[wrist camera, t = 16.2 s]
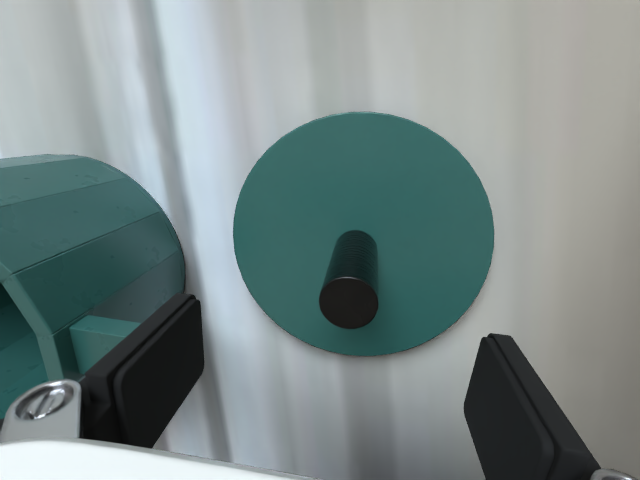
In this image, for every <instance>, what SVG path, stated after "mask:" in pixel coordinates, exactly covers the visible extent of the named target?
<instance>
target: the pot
mask: <svg viewBox="0 0 640 480" xmlns="http://www.w3.org/2000/svg"><path fill="white" fill-rule="evenodd" d="M184 282H185V265H184V259H183V253H182V250H181V246H180V243H179V240H178V238H177V235H176V233H175V231H174V228H173V227H172V225H171V223H170V221H169V219H168V218H167V216H166V215H165V213H164V212H163V210H162V209H161V207H160V206H159V205H158V204H157V202H156V201H155V200H154V199H153V198H152V197H151V195H150V194H149V193H148V192H147V191H146V190H144V189H143V188H142V187H141V186H140V185H139V184H138V183H137V182H135V181H134V180H133V179H131V178H130V177H129V176H127V175H126V174H124V173H123V172H121V171H119V170H118V169H116V168H114V167H112V166H110V165H108V164H105V163H103V162H101V161H98V160H95V159H91V158H88V157H83V156H77V155H51V154H44V155H34V156H24V157H14V158H4V159H0V419H3V418H5V416H6V412H7V410H8V408H9V407H10V405H11V404H12V403H13V402H14V401H15V400H16V399H17V398H18V397H19V396H20V395H22V394H23V393H25V392H26V391H27V390H29V389H31V388H33V387H35V386H37V385H40V384H43V383H46V382H48V381H53V380H58V379H70V380H74V381H76V382H77V383H79V382H80V381H81V380H82V379H83V378H84V377H85V372H86V371H87V370H89V369H90V368H91V367H92V366H93V365H94V364H96V363H97V362H98V361H99V360H100V359H101V358H102V357H104V356H105V355H106V354H107V353H108V352H109V351H110V350H112V349H113V348H114V347H115V346H116V345H117V344H118V343H120V342H121V341H122V340H123V339H124V338H125V337H127V336H128V335H129V334H130V333H131V332H132V331H133V330H135V329H136V328H137V327H138V326H139V325H140V324H141V323H143V322H144V321H145V320H146V319H147V318H148V317H150V316H151V315H152V314H153V313H154V312H155V311H156V310H158V309H159V308H160V307H161V306H162V305H163V304H164V303H166V302H167V301H168V300H169V299H170V298H171V297H172V296H174V295H175V294H176V293H183V290H184Z"/></svg>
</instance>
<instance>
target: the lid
mask: <svg viewBox="0 0 640 480" xmlns="http://www.w3.org/2000/svg"><path fill="white" fill-rule="evenodd" d="M233 239H234V249H235V255H236V259H237V263H238V267H239V269H240V272H241V275H242V278H243V280H244V282H245V284H246V286H247V288H248V290H249V292H250V293H251V295H252V296H253V298H254V299H255V300H256V302H257V303H258V305H259V306H260V307H261V308H262V309H263V311H264V312H265V313H266V314H267V315H268V316H269V317H270V318H271V319H272V320H273V321H274V322H275V323H277V324H278V325H279V326H280V327H282V328H283V329H284V330H286V331H287V332H288V333H290V334H291V335H293V336H295V337H297V338H298V339H300V340H302V341H304V342H306V343H308V344H311V345H313V346H315V347H318V348H321V349H324V350H327V351H330V352H335V353H340V354H345V355H356V356H376V355H385V354H391V353H396V352H400V351H404V350H407V349H410V348H413V347H415V346H418V345H420V344H423V343H425V342H427V341H429V340H431V339H433V338H434V337H436V336H437V335H439V334H440V333H442V332H443V331H445V330H446V329H448V328H449V327H450V326H451V325H452V324H453V323H455V322H456V321H457V320H458V319H459V318H460V317H461V316H462V315H463V314H464V312H465V311H466V310H467V309H468V308H469V307H470V305H471V304H472V302H473V301H474V299H475V298H476V297H477V295H478V293H479V291H480V289H481V287H482V285H483V284H484V282H485V279H486V276H487V273H488V270H489V267H490V265H491V259H492V254H493V248H494V225H493V216H492V211H491V207H490V204H489V200H488V197H487V194H486V192H485V190H484V188H483V185H482V183H481V181H480V179H479V177H478V176H477V174H476V173H475V171H474V170H473V168H472V167H471V165H470V164H469V163H468V161H467V160H466V159H465V158H464V157H463V156H462V155H461V153H460V152H459V151H458V150H457V149H456V148H454V147H453V146H452V145H451V144H450V143H449V142H447V141H446V140H445V139H444V138H443V137H441V136H439V135H438V134H436V133H435V132H433V131H431V130H430V129H428V128H426V127H424V126H422V125H420V124H417V123H415V122H413V121H411V120H408V119H404V118H401V117H397V116H394V115H390V114H383V113H375V112H348V113H341V114H334V115H330V116H326V117H323V118H319V119H316V120H313V121H311V122H309V123H306V124H304V125H302V126H300V127H298V128H296V129H294V130H293V131H291V132H290V133H288V134H286V135H285V136H283V137H282V138H281V139H279V140H278V141H277V142H276V143H275V144H274V145H272V146H271V147H270V148H269V149H268V150H267V151H266V152H265V153H264V154H263V156H262V157H261V158H260V159H259V160H258V161H257V163H256V164H255V166H254V167H253V169H252V170H251V172H250V173H249V175H248V177H247V179H246V181H245V183H244V185H243V187H242V189H241V192H240V195H239V198H238V201H237V204H236V210H235V216H234V226H233Z"/></svg>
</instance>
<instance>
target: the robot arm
mask: <svg viewBox="0 0 640 480" xmlns="http://www.w3.org/2000/svg"><path fill="white" fill-rule="evenodd" d="M203 369H204V350H203V335H202V320H201V305H200V301H199V300H196V297H195V296H194V295H190V294H183V293H176V294H175V295H174V296H172V297H171V298H170V299H169V300H168V301H167V302H166V303H164V304H163V305H162V306H161V307H160V308H159V309H158V310H156V311H155V312H154V313H153V314H152V315H151V316H150V317H148V318H147V319H146V320H145V321H144V322H143V323H141V324H140V325H139V326H138V327H137V328H136V329H135V330H133V331H132V332H131V333H130V334H129V335H128V336H127V337H125V338H124V339H123V340H122V341H121V342H120V343H118V344H117V345H116V346H115V347H114V348H113V349H112V350H110V351H109V352H108V353H107V354H106V355H105V356H104V357H102V358H101V359H100V360H99V361H98V362H97V363H96V364H94V365H93V366H92V367H91V368H90V369H89V370H87V371H86V372H85V377H84V378H83V379H82V380H81V381H80V382H79V383H77V382H76V381H74V380H70V379H58V380H53V381H48V382H46V383H43V384H40V385H37V386H35V387H33V388H31V389H29V390H27V391H26V392H25V393H23V394H22V395H20V396H19V397H18V398H17V399H16V400H15V401H14V402H13V403H12V404H11V405H10V407H9V408H8V410H7V412H6V416H5V418H3V419H0V480H322V479H317V478H312V477H306V476H301V475H295V474H290V473H285V472H279V471H274V470H268V469H263V468H257V467H252V466H247V465H241V464H235V463H230V462H224V461H219V460H213V459H207V458H202V457H196V456H191V455H185V454H179V453H174V452H168V451H163V450H157V449H152V447H153V446H154V444H155V443H156V441H157V440H158V438H159V437H160V435H161V434H162V432H163V431H164V429H165V428H166V426H167V425H168V423H169V422H170V420H171V419H172V417H173V416H174V414H175V413H176V411H177V410H178V408H179V407H180V405H181V404H182V403H183V401H184V400H185V398H186V397H187V395H188V394H189V392H190V391H191V389H192V388H193V386H194V385H195V383H196V382H197V380H198V379H199V377H200V376H201V374H202V372H203ZM464 414H465V418H466V421H467V424H468V427H469V430H470V433H471V436H472V439H473V442H474V445H475V448H476V451H477V454H478V457H479V460H480V463H481V466H482V469H483V472H484V475H485V478H486V480H638V479H636V478H634V477H632V476H630V475H628V474H626V473H623V472H620V471H617V470H614V469H605V468H602V469H601V467H600V466H599V464H598V463H597V461H596V460H595V458H594V457H593V455H592V454H591V453H590V451H589V450H588V448H587V447H586V445H585V444H584V442H583V441H582V439H581V438H580V436H579V435H578V433H577V432H576V430H575V429H574V427H573V426H572V425H571V423H570V422H569V420H568V419H567V417H566V416H565V414H564V413H563V411H562V410H561V408H560V407H559V405H558V404H557V402H556V401H555V400H554V398H553V397H552V395H551V394H550V392H549V391H548V389H547V388H546V387H545V385H544V384H543V382H542V381H541V379H540V378H539V377H538V375H537V374H536V372H535V371H534V369H533V368H532V366H531V365H530V363H529V362H528V360H527V359H526V357H525V356H524V354H523V353H522V351H521V350H520V349H519V347H518V346H517V344H516V343H515V341H514V340H513V338H512V337H511V336H508V335H500V334H493V333H490V334H489V335H488V336H487V337H483V338H482V339H481V342H480V346H479V350H478V353H477V357H476V361H475V365H474V368H473V372H472V376H471V379H470V383H469V387H468V391H467V394H466V398H465V402H464Z"/></svg>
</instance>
